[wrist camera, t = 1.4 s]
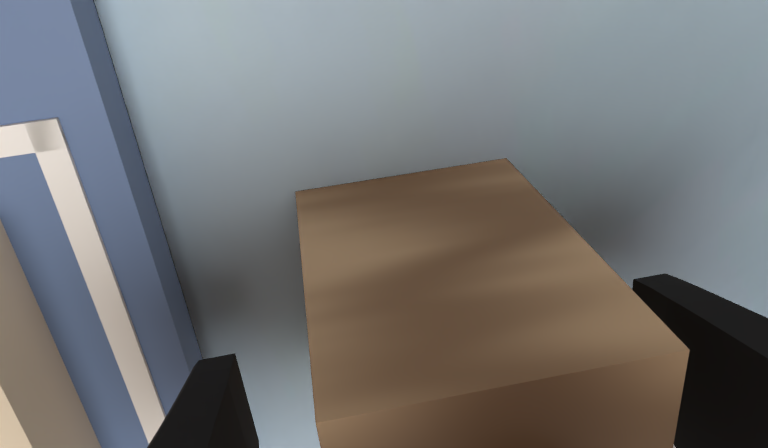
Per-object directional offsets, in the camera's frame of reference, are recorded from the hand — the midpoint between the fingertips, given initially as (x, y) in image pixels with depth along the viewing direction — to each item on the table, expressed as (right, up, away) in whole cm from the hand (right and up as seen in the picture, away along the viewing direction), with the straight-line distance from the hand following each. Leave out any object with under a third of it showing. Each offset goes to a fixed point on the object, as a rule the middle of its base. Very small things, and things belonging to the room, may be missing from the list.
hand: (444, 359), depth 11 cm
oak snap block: (0, +1, +3) cm, 3 cm away
